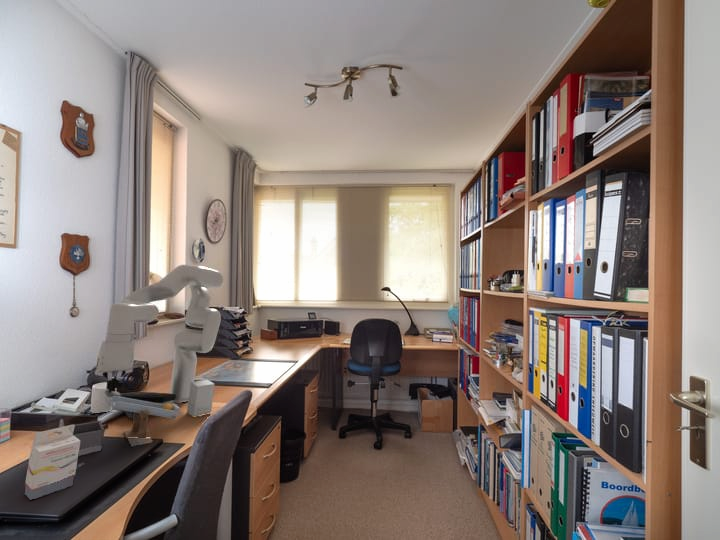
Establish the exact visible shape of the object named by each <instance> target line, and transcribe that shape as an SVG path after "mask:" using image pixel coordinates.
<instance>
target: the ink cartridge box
mask: <svg viewBox="0 0 720 540" xmlns="http://www.w3.org/2000/svg"><path fill="white" fill-rule="evenodd" d="M75 425H76V424H70V425H64V427H60V428H59V427H57V428H55V427H54V428H52V429H47V430H43V431H39V432H36V433H35V434H34V437H33V443H32V445H31V447H30V453H29V459H28V465H27V471H26V475H25V476H26V477H25V482H24V486H25V485H26V487H28V488H29V489H30V490H35V489H37V488H40V487H43V486H46V485H49V484H51V483H54V482H57V481H60V480H62V479H64V478H67V477H69V476H72V475H75V476H76V470H77V465H78V460H79V459H78V458H79V456H78V454H79V448H80V440H79V439H78V438H76V437H75V436H73V431H74V427H75ZM55 432H56V433H57V434H54V433H55ZM58 432H62V433H61V434H58ZM52 434H53V435H52ZM49 435H50V436H49Z"/></svg>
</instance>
